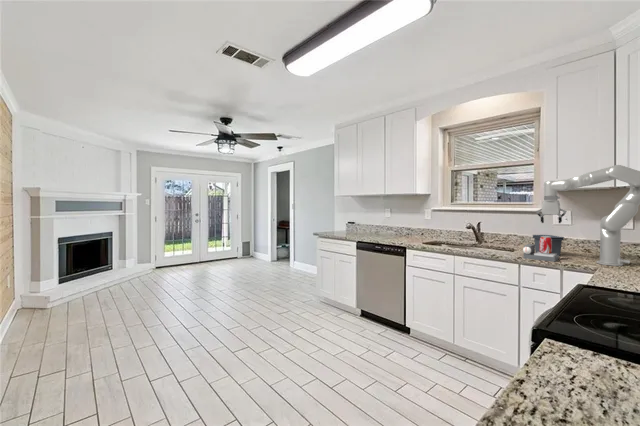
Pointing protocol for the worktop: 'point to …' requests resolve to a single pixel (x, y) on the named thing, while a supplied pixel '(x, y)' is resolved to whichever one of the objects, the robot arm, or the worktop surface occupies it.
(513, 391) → the worktop surface
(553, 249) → the storage bin
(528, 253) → the dial scale
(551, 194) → the robot arm
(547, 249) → the soda can
